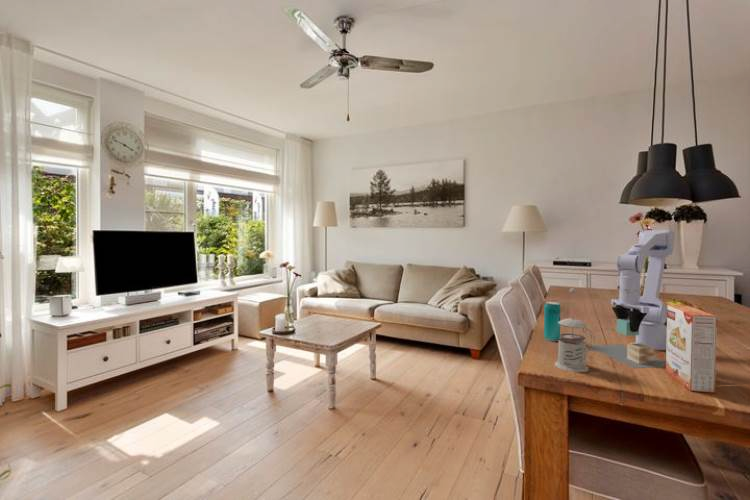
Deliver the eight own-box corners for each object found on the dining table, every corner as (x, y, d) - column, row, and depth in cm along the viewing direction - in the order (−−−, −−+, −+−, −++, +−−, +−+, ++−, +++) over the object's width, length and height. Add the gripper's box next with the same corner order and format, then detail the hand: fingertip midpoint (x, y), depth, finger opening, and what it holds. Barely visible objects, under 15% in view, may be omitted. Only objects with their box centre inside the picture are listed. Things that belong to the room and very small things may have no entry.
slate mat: (621, 345, 138) (621, 344, 138) (676, 367, 115) (676, 366, 115) (585, 346, 137) (585, 345, 137) (634, 369, 114) (634, 368, 114)
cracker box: (663, 372, 111) (666, 304, 110) (687, 374, 110) (690, 305, 109) (688, 391, 98) (690, 313, 97) (716, 394, 96) (718, 315, 95)
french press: (549, 360, 122) (550, 286, 121) (584, 361, 122) (586, 286, 120) (563, 372, 112) (564, 290, 111) (602, 372, 112) (603, 290, 111)
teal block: (628, 331, 127) (629, 318, 127) (639, 335, 123) (639, 321, 123) (616, 331, 127) (616, 319, 127) (626, 335, 123) (626, 322, 122)
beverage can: (561, 342, 142) (562, 304, 141) (545, 341, 143) (546, 303, 143) (557, 338, 148) (558, 301, 147) (542, 337, 149) (542, 301, 148)
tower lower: (640, 357, 123) (641, 350, 123) (653, 363, 118) (653, 355, 118) (626, 358, 123) (627, 351, 123) (638, 363, 118) (639, 356, 118)
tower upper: (641, 350, 123) (641, 343, 123) (653, 355, 118) (653, 347, 118) (627, 351, 123) (627, 343, 123) (639, 356, 118) (639, 348, 118)
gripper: (603, 287, 131) (602, 324, 132) (634, 293, 117) (633, 335, 117) (622, 286, 132) (621, 324, 132) (655, 293, 117) (654, 335, 118)
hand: (628, 329), depth 125 cm, fingers closed on teal block, 4 cm apart
